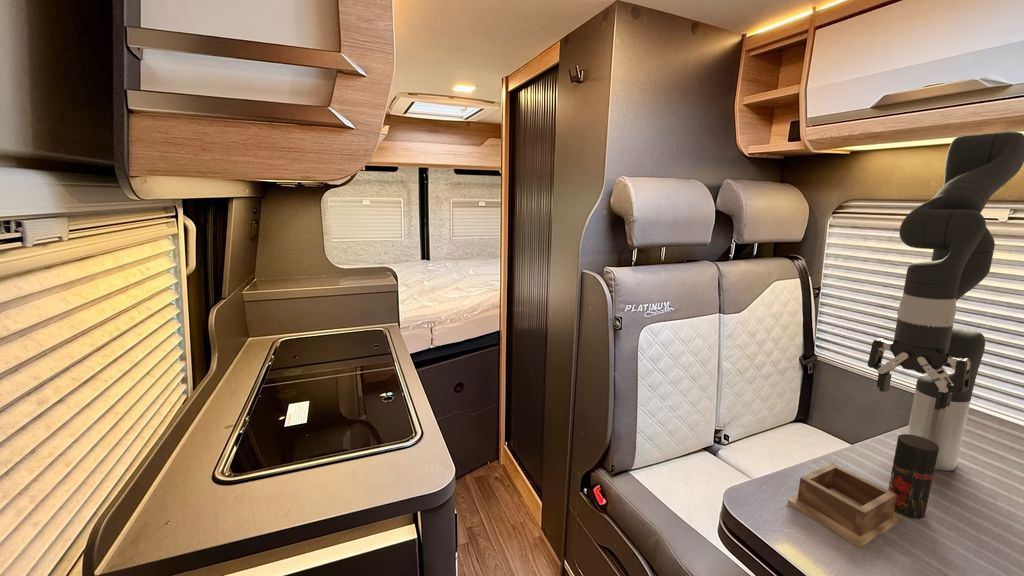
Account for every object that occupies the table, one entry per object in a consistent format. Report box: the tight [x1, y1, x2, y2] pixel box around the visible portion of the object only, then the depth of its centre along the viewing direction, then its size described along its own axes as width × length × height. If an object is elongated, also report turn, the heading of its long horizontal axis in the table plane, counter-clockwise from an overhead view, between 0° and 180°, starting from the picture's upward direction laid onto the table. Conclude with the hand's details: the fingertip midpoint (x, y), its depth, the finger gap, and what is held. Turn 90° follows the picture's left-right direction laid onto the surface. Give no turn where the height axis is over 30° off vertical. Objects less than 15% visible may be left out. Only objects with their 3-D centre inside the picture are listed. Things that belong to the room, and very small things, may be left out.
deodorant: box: [887, 433, 939, 520], centre depth 86 cm, size 6×6×15 cm
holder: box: [787, 462, 903, 549], centre depth 86 cm, size 15×13×6 cm
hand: (910, 399), depth 83 cm, fingers open, 8 cm apart
